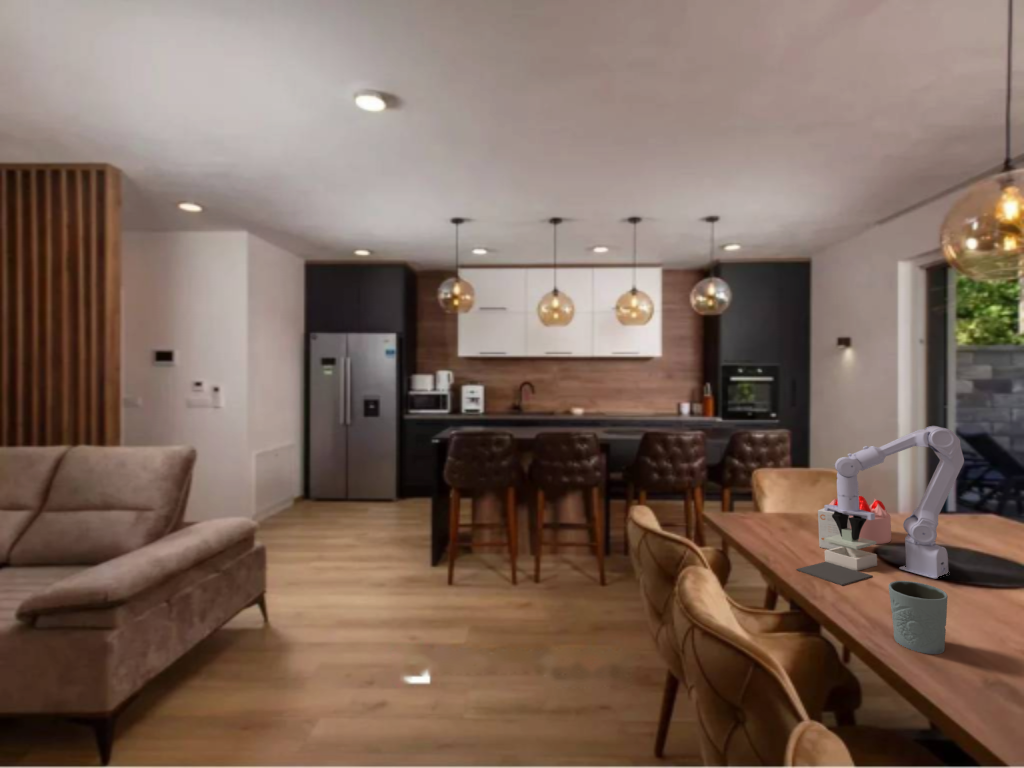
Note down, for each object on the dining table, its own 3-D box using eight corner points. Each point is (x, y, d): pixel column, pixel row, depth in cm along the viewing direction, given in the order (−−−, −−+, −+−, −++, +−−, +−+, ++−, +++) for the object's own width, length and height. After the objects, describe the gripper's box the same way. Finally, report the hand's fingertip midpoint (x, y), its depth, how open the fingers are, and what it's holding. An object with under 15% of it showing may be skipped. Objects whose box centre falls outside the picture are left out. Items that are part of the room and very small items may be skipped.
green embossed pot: (922, 632, 114) (920, 579, 114) (963, 655, 104) (961, 597, 104) (879, 634, 114) (876, 581, 114) (916, 658, 104) (914, 599, 104)
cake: (850, 527, 199) (849, 491, 199) (905, 540, 180) (903, 501, 181) (815, 533, 192) (814, 496, 192) (868, 548, 173) (867, 507, 174)
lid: (876, 546, 157) (875, 531, 157) (856, 551, 152) (855, 535, 153) (844, 538, 166) (843, 524, 166) (824, 543, 162) (823, 528, 162)
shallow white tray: (877, 565, 156) (876, 554, 157) (857, 571, 152) (856, 559, 152) (844, 556, 166) (844, 545, 166) (824, 561, 161) (824, 550, 162)
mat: (872, 576, 147) (872, 575, 147) (842, 585, 142) (842, 584, 142) (826, 562, 160) (825, 561, 160) (796, 570, 154) (796, 568, 154)
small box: (851, 548, 173) (850, 511, 174) (845, 552, 169) (843, 514, 170) (825, 543, 180) (824, 507, 180) (818, 547, 176) (817, 510, 176)
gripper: (817, 492, 164) (819, 534, 164) (864, 500, 151) (866, 545, 151) (831, 490, 167) (833, 531, 167) (878, 498, 154) (880, 542, 154)
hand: (849, 537), depth 159 cm, fingers closed on lid, 3 cm apart
